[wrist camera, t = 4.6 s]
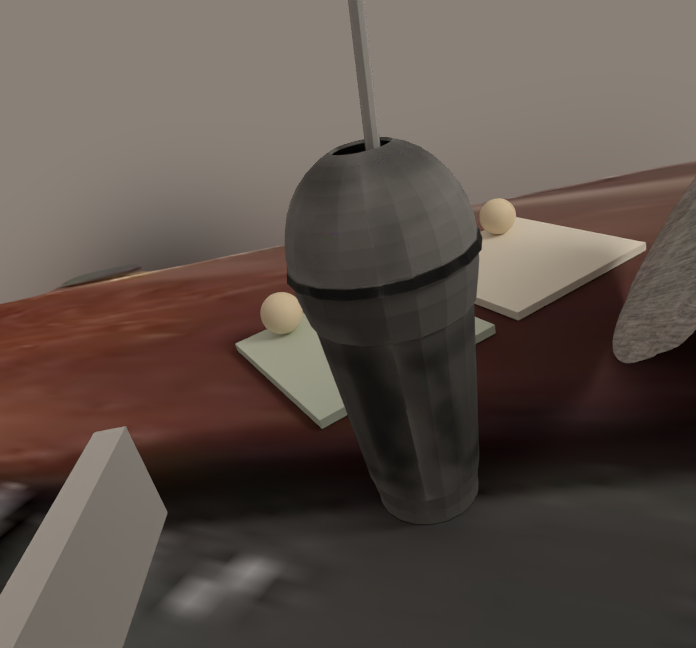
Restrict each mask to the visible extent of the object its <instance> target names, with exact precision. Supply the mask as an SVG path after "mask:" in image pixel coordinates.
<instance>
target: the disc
mask: <svg viewBox="0 0 696 648" xmlns="http://www.w3.org/2000/svg"><path fill="white" fill-rule="evenodd" d="M695 330H696V177H695V178H694V180H693V181H692V183H691V184H690V186H689V187H688V189H687V190H686V191H685V193H684V194H683V196H682V197H681V199H680V200H679V201H678V203H677V204H676V206H675V207H674V209H673V211H672V212H671V214H670V216H669V217H668V219H667V221H666V223H665V224H664V226H663V227H662V229H661V231H660V233H659V235H658V236H657V238H656V240H655V242H654V243H653V245H652V247H651V249H650V251H649V253H648V255H647V256H646V258H645V259H644V260H643V263H642V265H641V267H640V269H639V271H638V273H637V274H636V277H635V279H634V281H633V283H632V285H631V287H630V290H629V293H628V296H627V299H626V302H625V304H624V306H623V308H622V311H621V313H620V314H619V317H618V322H617V324H616V328H615V331H614V336H613V342H612V343H613V353H614V354H615V356H616V357H617V359H618V360H620V361H621V362H623V363H632V362H633V363H635V362H638V361H642V360H645V359H648V358H651V357H653V356H655V355H656V354H658V353H661V352H666V351H668V350H671V349H673V348H675V347H678V346H680V344H682V343H683V342H684V341H685V340H687V338H688V337H689V336H690V335H692V334H693V332H694V331H695Z"/></svg>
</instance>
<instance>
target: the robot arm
mask: <svg viewBox="0 0 696 648" xmlns="http://www.w3.org/2000/svg"><path fill="white" fill-rule="evenodd" d="M167 513H168V512H167V510H166V508H165V506H164V504H163V502H162V500H161V498H160V496H159V494H158V492H157V490H156V488H155V486H154V484H153V481H152V479H151V477H150V475H149V473H148V471H147V469H146V467H145V465H144V463H143V461H142V459H141V457H140V455H139V453H138V451H137V448H136V446H135V444H134V442H133V440H132V438H131V436H130V434H129V432H128V430H127V428H126V426H124V427H119V428H114V429H109V430H104V431H99V432H94V434H93V435H92V437H91V439H90V441H89V442H88V444H87V446H86V448H85V449H84V451H83V453H82V454H81V456H80V458H79V460H78V461H77V463H76V465H75V467H74V468H73V470H72V472H71V473H70V475H69V477H68V479H67V480H66V482H65V484H64V486H63V487H62V489H61V491H60V492H59V494H58V496H57V498H56V499H55V501H54V503H53V505H52V506H51V508H50V510H49V511H48V513H47V515H46V517H45V518H44V520H43V522H42V524H41V525H40V527H39V529H38V530H37V532H36V534H35V536H34V537H33V539H32V541H31V543H30V544H29V546H28V548H27V549H26V551H25V553H24V555H23V556H22V558H21V560H20V562H19V563H18V565H17V567H16V568H15V570H14V572H13V574H12V575H11V577H10V579H9V581H8V582H7V584H5V585H0V648H123V645H124V642H125V639H126V636H127V633H128V630H129V627H130V624H131V621H132V618H133V615H134V612H135V609H136V606H137V603H138V600H139V597H140V594H141V591H142V588H143V585H144V582H145V579H146V576H147V573H148V570H149V567H150V564H151V561H152V558H153V555H154V552H155V549H156V546H157V543H158V540H159V537H160V534H161V531H162V528H163V525H164V522H165V519H166V516H167Z"/></svg>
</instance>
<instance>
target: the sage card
mask: <svg viewBox="0 0 696 648" xmlns="http://www.w3.org/2000/svg"><path fill="white" fill-rule="evenodd" d="M260 314H261V320H262V322H263V324H264V326H265V327H266V328H267V329H266V330H264V331H262V332H260V333H258V334H255V335H253V336H251V337H249V338H247V339H244V340H242V341H240V342H238V343H236V344H235V345H236V348H237V351H238V352H239V353H240V354H242V355H243V356H244V357H245V358H246V359H247V360H248V361H249V362H250V363H251V364H252V365H253V366H254V367H256V368H257V369H258V370H259V371H260V372H261V373H262V374H263V375H264V376H265V377H266V378H267V379H269V380H270V381H271V382H272V383H273V384H274V385H275V386H276V387H277V388H278V389H279V390H280V391H282V392H283V393H284V394H285V395H286V396H287V397H288V398H289V399H290V400H291V401H292V402H293V403H295V404H296V405H297V406H298V407H299V408H300V409H301V410H302V411H303V412H304V413H305V414H306V415H308V416H309V417H310V418H311V419H312V420H313V421H314V422H315V423H316V424H317V425H318V426H319V427H321V428H322V429H323V428H325V427H327V426H329V425H330V424H332V423H334V422H336V421H338V420H339V419H341V418H343V417H345V416H347V412H346V409H345V407H344V404H343V401H342V399H341V396H340V393H339V391H338V388H337V385H336V383H335V380H334V377H333V375H332V372H331V369H330V367H329V364H328V361H327V359H326V356H325V353H324V351H323V348H322V345H321V343H320V340H319V337H318V335H317V332H316V331H315V330H314V329H313V328H312V327H311V325H310V323H309V321H308V320H307V318H306V316H305V314H304V313H303V310H302V308H301V306H300V304H299V302H298V299H297V298H296V297H294V296H293V295H291V294H289V293H285V292H278V293H274V294H272V295H270V296H269V297H268V298H267V299H266V300H265V301H264V302H263V304H262V307H261V313H260ZM495 333H496V331H495V325H494V324H491V323H489V322H487V321H484V320H482V319H479V318H477V317H475V339H476V344H477V343H479V342H481V341H482V340H484V339H486V338H488V337H490V336H491V335H493V334H495Z"/></svg>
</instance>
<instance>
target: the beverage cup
mask: <svg viewBox="0 0 696 648" xmlns="http://www.w3.org/2000/svg"><path fill="white" fill-rule="evenodd" d="M348 4H349V13H350V21H351V30H352V38H353V46H354V54H355V64H356V72H357V80H358V89H359V98H360V105H361V115H362V123H363V131H364V140H359V141H355V142H351V143H348V144H344V145H342V146H339V147H337V148H335V149H333V150H331V151H330V152H329V153H327V154H326V155H325V156H323V157H322V158H320V159H319V160H318V161H317V162H316V163H315V164H314V165H313V167H312V168H311V169H310V170H309V171H308V172H307V173H306V174H305V176H304V177H303V179H302V180H301V182H300V183H299V185H298V186H297V188H296V190H295V193H294V195H293V197H292V199H291V202H290V205H289V209H288V213H287V218H286V228H285V255H286V261H287V284H288V285H289V286H290V287H291V288H292V289H293V290H294V291H295V293H296V296H297V299H298V302H299V304H300V306H301V308H302V310H303V312H304V314H305V316H306V318H307V320H308V321H309V323H310V325H311V327H312V328H313V329H314V330H315V331H316V332H317V335H318V337H319V340H320V343H321V345H322V348H323V351H324V353H325V356H326V359H327V361H328V364H329V367H330V369H331V372H332V375H333V377H334V380H335V383H336V385H337V388H338V391H339V393H340V396H341V399H342V401H343V404H344V407H345V409H346V412H347V415H348V417H349V420H350V423H351V425H352V428H353V431H354V433H355V436H356V439H357V441H358V444H359V447H360V449H361V452H362V455H363V457H364V460H365V463H366V465H367V468H368V471H369V473H370V476H371V478H372V480H373V481H374V483H375V485H376V488H377V490H378V492H379V493H380V496H381V500H382V503H383V505H384V506H385V507H386V509H387V510H388V512H389V513H391V514H392V515H394V516H395V517H397V518H398V519H400V520H403V521H406V522H410V523H413V524H436V523H440V522H444V521H448V520H450V519H452V518H454V517H456V516H458V515H460V514H462V513H463V512H464V511H465V510H466V509H467V508H468V507H469V506H470V505H471V504H472V503H473V501H474V499H475V497H476V495H477V493H478V466H479V432H478V401H477V370H476V339H475V308H474V302H475V301H476V296H477V284H478V273H479V252H480V251H481V250H482V235H481V233H480V230H479V228H478V227H477V226H476V222H475V217H474V212H473V209H472V207H471V204H470V201H469V199H468V196H467V194H466V193H465V191H464V189H463V187H462V186H461V184H460V182H459V181H458V180H457V179H456V177H455V176H454V175H453V173H452V172H451V171H450V170H449V169H448V168H447V167H446V166H445V165H444V164H443V163H442V162H440V161H439V160H438V159H437V158H436V157H435V156H434V155H432V154H431V153H429V152H428V151H426V150H424V149H422V148H421V147H419V146H417V145H415V144H412V143H410V142H407V141H403V140H399V139H394V138H389V137H379V129H378V120H377V112H376V102H375V93H374V84H373V75H372V66H371V58H370V49H369V40H368V31H367V22H366V13H365V4H364V0H348Z"/></svg>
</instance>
